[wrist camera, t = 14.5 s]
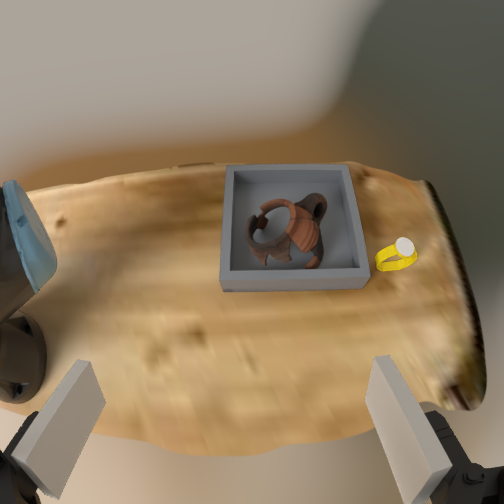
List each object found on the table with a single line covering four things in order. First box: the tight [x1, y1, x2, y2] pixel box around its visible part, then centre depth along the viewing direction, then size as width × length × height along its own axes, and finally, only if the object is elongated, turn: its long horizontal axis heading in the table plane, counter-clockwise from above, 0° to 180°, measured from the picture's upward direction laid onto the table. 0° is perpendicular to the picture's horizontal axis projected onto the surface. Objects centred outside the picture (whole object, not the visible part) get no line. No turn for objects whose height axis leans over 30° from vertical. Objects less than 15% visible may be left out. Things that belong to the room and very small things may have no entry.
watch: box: [375, 237, 418, 272], centre depth 39 cm, size 6×3×6 cm, turn 94°
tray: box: [219, 164, 371, 292], centre depth 43 cm, size 18×18×4 cm
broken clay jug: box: [245, 193, 327, 269], centre depth 41 cm, size 12×10×8 cm
